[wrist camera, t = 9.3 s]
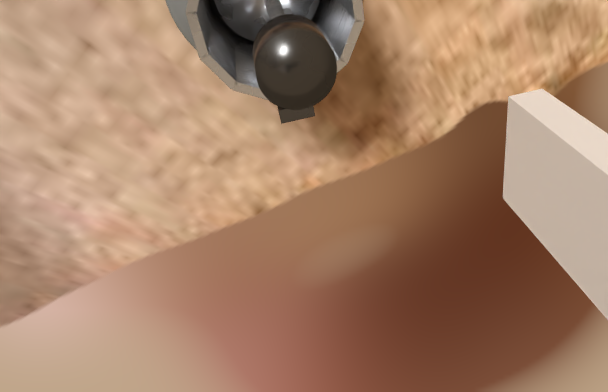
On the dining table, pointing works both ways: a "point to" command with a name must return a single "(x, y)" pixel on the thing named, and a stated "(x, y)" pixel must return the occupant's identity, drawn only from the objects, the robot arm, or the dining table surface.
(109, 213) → the dining table surface
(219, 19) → the faceted metal cup
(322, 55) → the plunger
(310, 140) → the dining table surface
